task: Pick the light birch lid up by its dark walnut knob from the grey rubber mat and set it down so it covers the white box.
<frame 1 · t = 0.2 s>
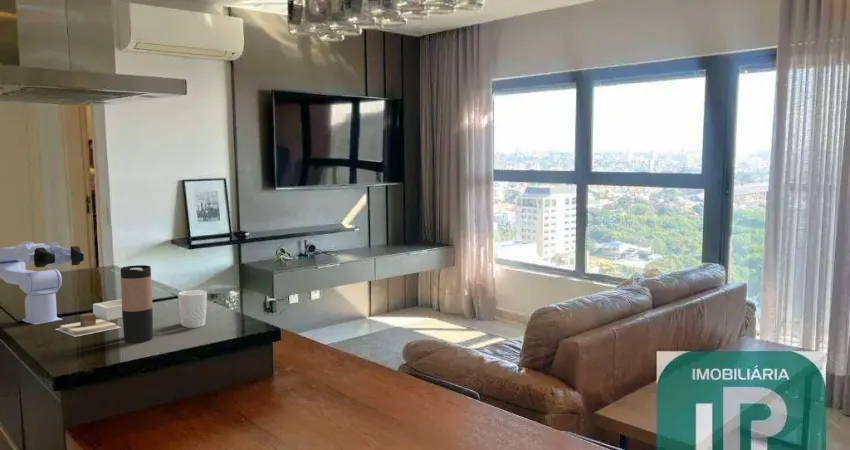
hand: (68, 258, 181), 21 cm above the table, tool horizontal, fingers open, 7 cm apart
white cup: (193, 326, 190), on the table
white box: (114, 317, 199), on the table
mat: (88, 329, 185), on the table
lid: (88, 328, 185), resting on mat
travel mug: (138, 340, 175), on the table
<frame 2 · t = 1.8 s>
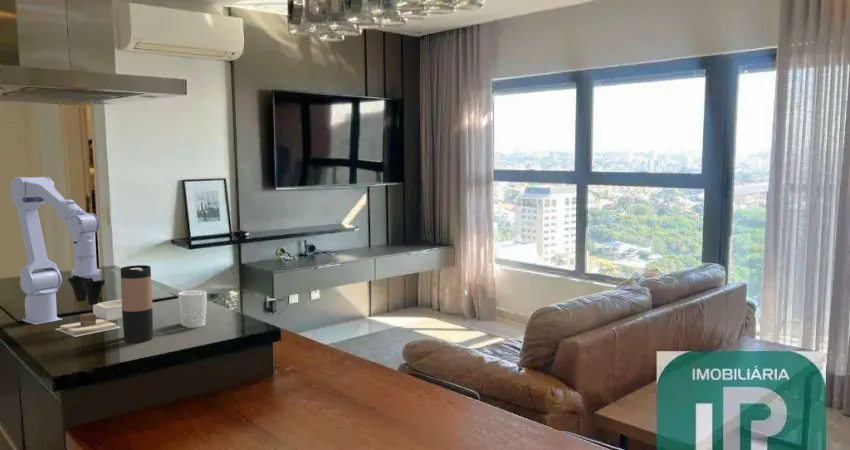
hand: (87, 302, 184), 8 cm above the table, tool pointing down, fingers open, 7 cm apart
nothing on the table moved.
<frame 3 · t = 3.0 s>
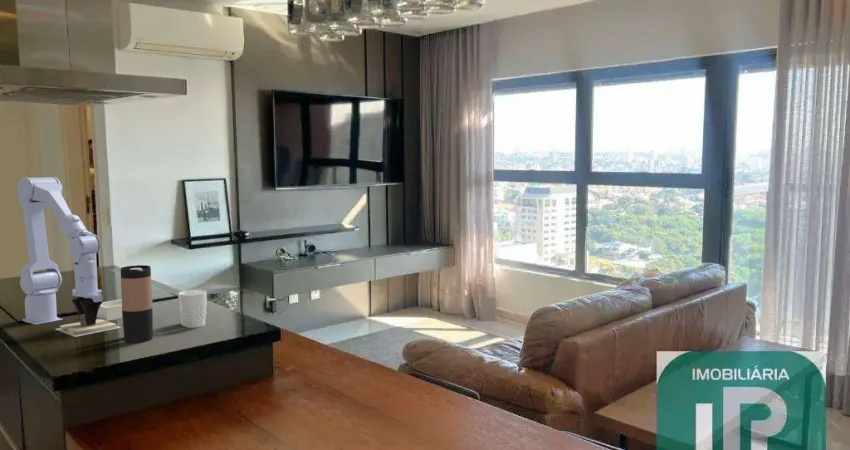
hand: (88, 323, 184), 2 cm above the table, tool pointing down, fingers closed on lid, 3 cm apart
lid: (88, 328, 185), resting on mat, touching gripper
everything else where it was.
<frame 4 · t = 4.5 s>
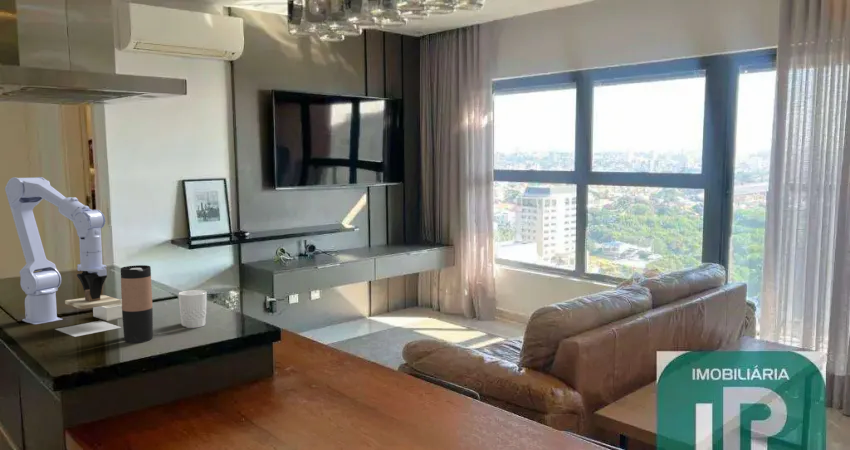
hand: (93, 297, 187), 9 cm above the table, tool pointing down, fingers closed on lid, 3 cm apart
lid: (92, 303, 187), point 7 cm above the table, touching gripper
everything else where it was.
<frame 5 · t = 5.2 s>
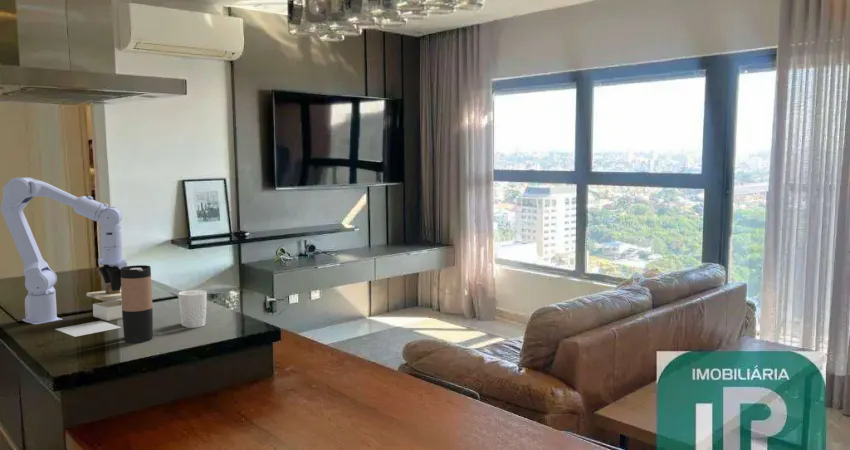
hand: (113, 289, 199), 9 cm above the table, tool pointing down, fingers closed on lid, 3 cm apart
lid: (112, 296, 199), point 7 cm above the table, touching gripper
everything else where it was.
when the fingers open (7 cm above the table, at t = 5.8 s): lid stays where it is, resting on white box.
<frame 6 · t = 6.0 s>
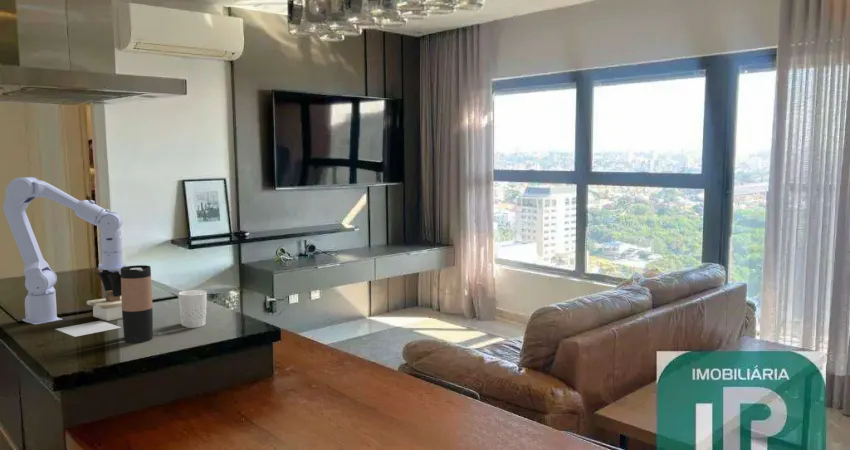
hand: (113, 294, 199), 7 cm above the table, tool pointing down, fingers open, 4 cm apart
lid: (113, 303, 199), point 4 cm above the table, touching white box
everything else where it was.
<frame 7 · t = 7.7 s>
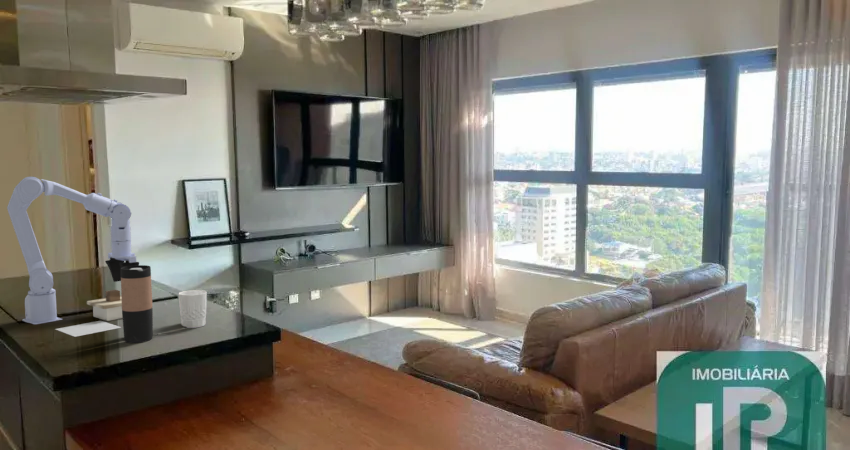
hand: (123, 282, 205), 10 cm above the table, tool pointing down, fingers open, 7 cm apart
nothing on the table moved.
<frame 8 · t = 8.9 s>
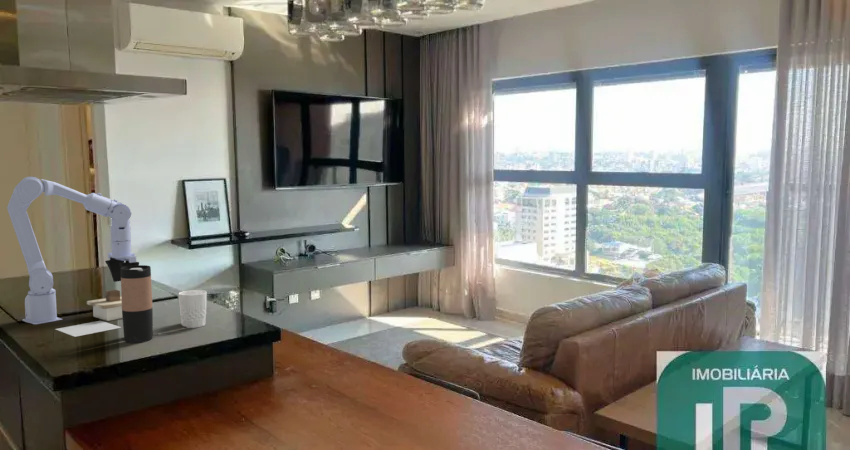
hand: (123, 282, 205), 10 cm above the table, tool pointing down, fingers open, 7 cm apart
nothing on the table moved.
at the end: lid 0.3 cm off-centre on the white box, point 4.5 cm above the white box's base; lid tilted 0°; the gripper is holding nothing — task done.
